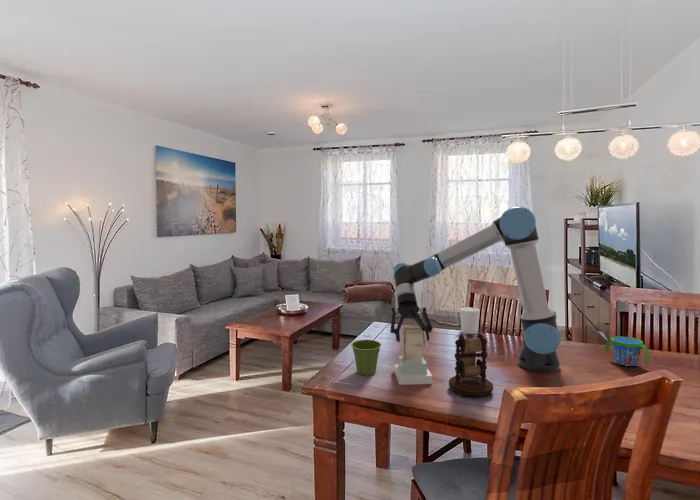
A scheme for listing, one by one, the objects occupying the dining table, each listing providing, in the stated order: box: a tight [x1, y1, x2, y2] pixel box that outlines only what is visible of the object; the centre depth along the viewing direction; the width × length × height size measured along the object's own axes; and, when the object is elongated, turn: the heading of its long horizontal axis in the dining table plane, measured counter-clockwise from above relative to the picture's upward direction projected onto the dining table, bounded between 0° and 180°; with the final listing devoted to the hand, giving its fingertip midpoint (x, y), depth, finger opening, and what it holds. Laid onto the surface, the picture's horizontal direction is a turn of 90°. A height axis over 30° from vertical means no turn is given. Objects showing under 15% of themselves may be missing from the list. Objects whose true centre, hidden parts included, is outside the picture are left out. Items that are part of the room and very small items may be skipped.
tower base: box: [393, 355, 433, 386], centre depth 148 cm, size 12×12×7 cm
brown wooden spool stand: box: [448, 332, 494, 398], centre depth 137 cm, size 15×15×20 cm
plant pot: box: [350, 339, 382, 376], centre depth 154 cm, size 12×12×11 cm
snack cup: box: [604, 335, 650, 367], centre depth 159 cm, size 16×10×10 cm
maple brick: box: [402, 325, 423, 363], centre depth 148 cm, size 6×6×12 cm
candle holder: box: [460, 306, 481, 335], centre depth 207 cm, size 10×10×12 cm
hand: (414, 348), depth 144 cm, fingers open, 8 cm apart
